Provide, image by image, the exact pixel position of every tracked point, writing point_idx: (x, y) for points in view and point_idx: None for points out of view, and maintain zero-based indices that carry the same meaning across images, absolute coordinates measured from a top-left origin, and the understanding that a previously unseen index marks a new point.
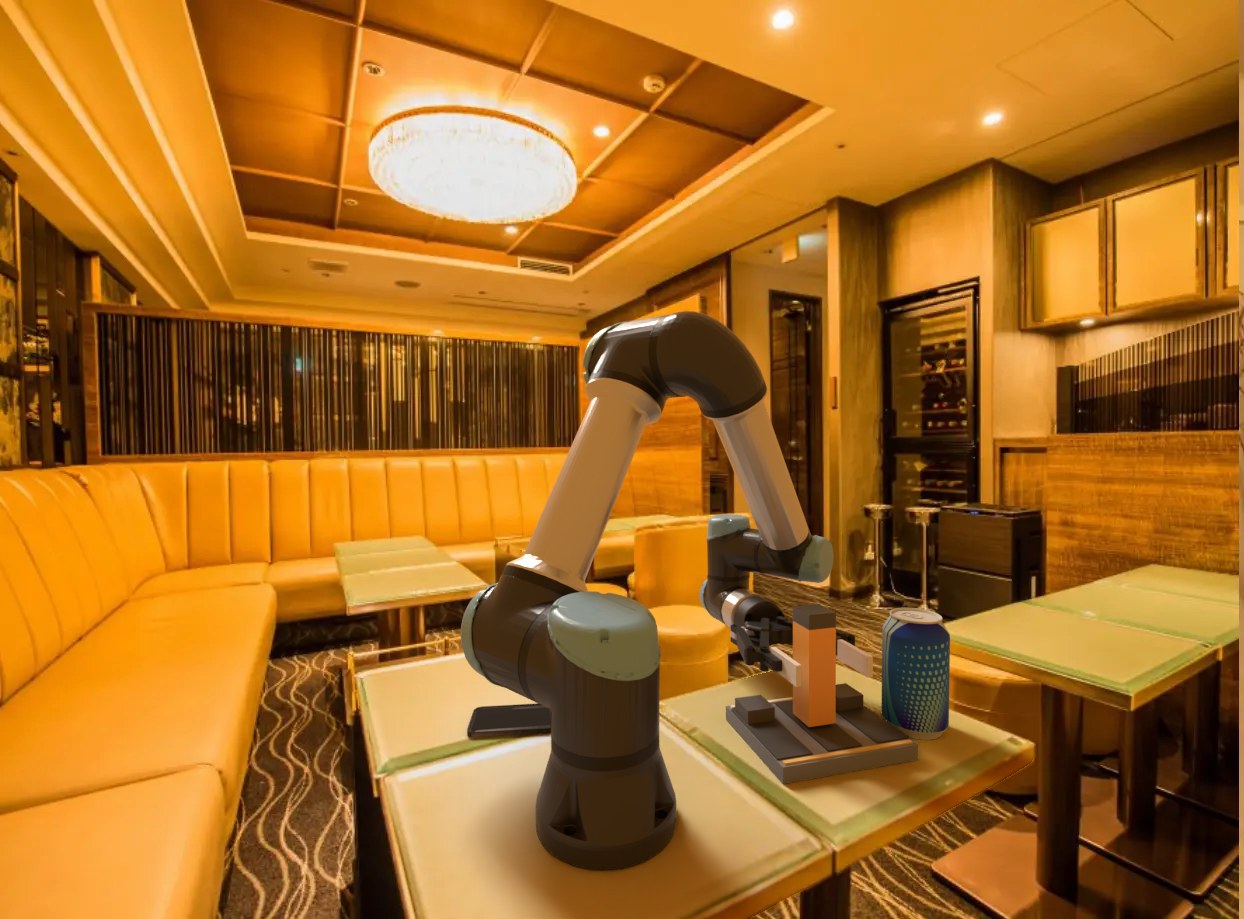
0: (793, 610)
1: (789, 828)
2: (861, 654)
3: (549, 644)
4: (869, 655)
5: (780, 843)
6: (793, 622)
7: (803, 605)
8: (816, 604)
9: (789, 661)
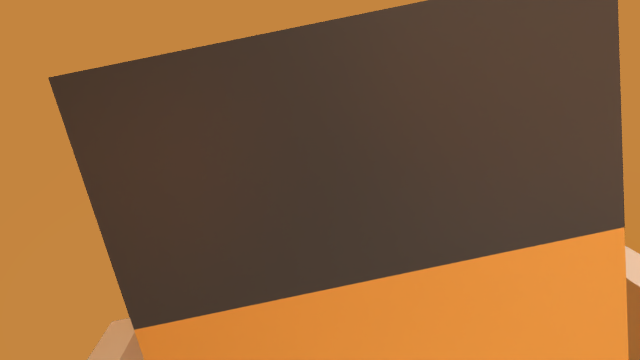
0: (605, 40)
1: None
2: (130, 352)
3: None
4: (115, 329)
5: None
6: (612, 244)
7: (387, 9)
8: (113, 66)
9: (630, 250)
